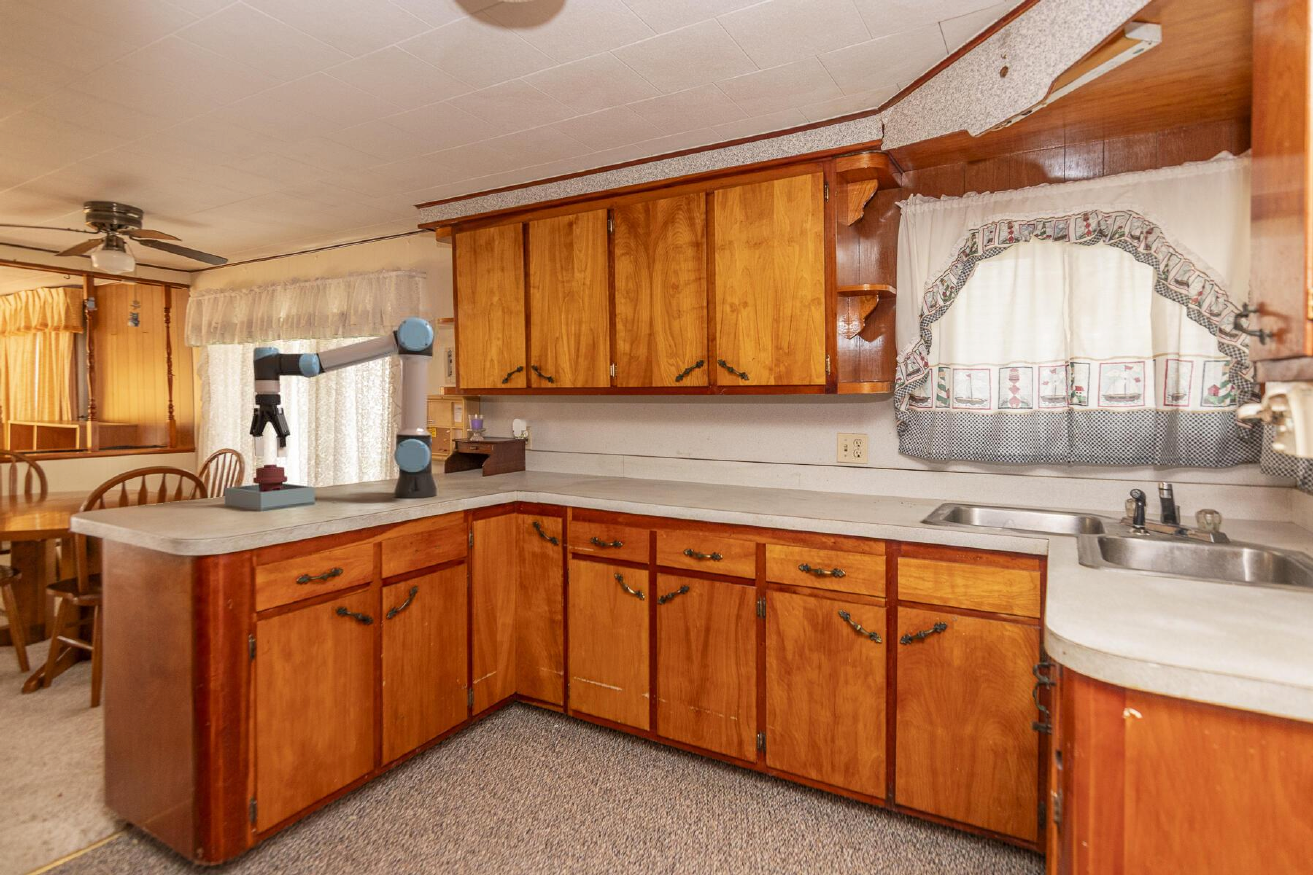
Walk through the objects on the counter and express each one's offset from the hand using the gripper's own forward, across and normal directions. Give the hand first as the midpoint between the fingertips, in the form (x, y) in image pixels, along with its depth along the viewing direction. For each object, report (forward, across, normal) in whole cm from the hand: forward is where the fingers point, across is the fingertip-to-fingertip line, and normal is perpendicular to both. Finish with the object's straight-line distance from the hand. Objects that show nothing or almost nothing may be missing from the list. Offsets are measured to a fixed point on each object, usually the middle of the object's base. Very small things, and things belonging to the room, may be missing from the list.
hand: (270, 456), depth 231 cm
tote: (+16, 0, +1) cm, 16 cm away
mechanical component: (+15, 0, 0) cm, 15 cm away
